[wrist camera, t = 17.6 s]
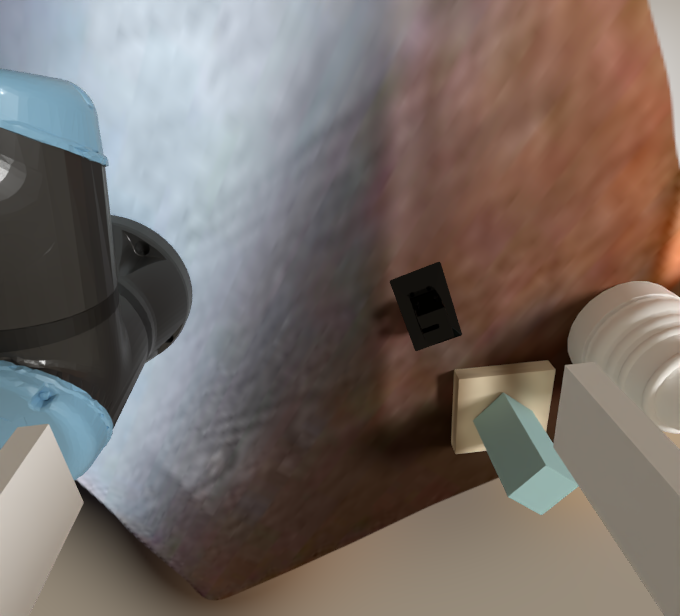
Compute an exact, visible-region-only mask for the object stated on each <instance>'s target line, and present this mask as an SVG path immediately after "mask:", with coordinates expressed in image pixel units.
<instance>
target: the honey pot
mask: <svg viewBox="0 0 680 616" xmlns="http://www.w3.org/2000/svg"><path fill="white" fill-rule="evenodd" d="M568 353H569V356H570V359H571V362H572V363H573V364H579V363H588V362H595V363H596V364H597V365H598V366H599V367H600V368H601V369H602V370H603V371H604V372H605V373H606V374H607V376H608V377H609V378H610V379H611V380H612V381H613V382H614V383H615V384H616V385H617V386H618V387H619V388H620V389H621V390H622V391H623V392H624V393H625V394H626V395H627V396H628V397H629V398H630V399H631V400H632V401H633V402H634V403H635V404H636V405H637V406H638V407H639V408H640V409H641V410H642V411H643V412H644V413H645V414H646V415H647V416H648V417H649V418H650V419H651V420H652V421H653V422H654V423H655V425H656V426H657V427H658V428H659V429H660V430H661V431H665V432H669V433H675V434H679V433H680V297H678V296H677V295H675V294H674V293H672V292H670V291H669V290H667V289H666V288H664V287H662V286H661V285H658V284H654V283H651V282H646V281H632V282H628V283H624V284H619V285H616V286H614V287H612V288H610V289H608V290H606V291H603V292H602V293H600V294H599V295H598V296H596V297H595V298H594V299H592V300H591V301H590V302H589V303H588V304H587V305H586V306H585V307H584V308H583V309H582V310H581V311H580V312H579V314H578V316H577V317H576V319H575V321H574V322H573V324H572V326H571V329H570V333H569V336H568Z"/></svg>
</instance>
